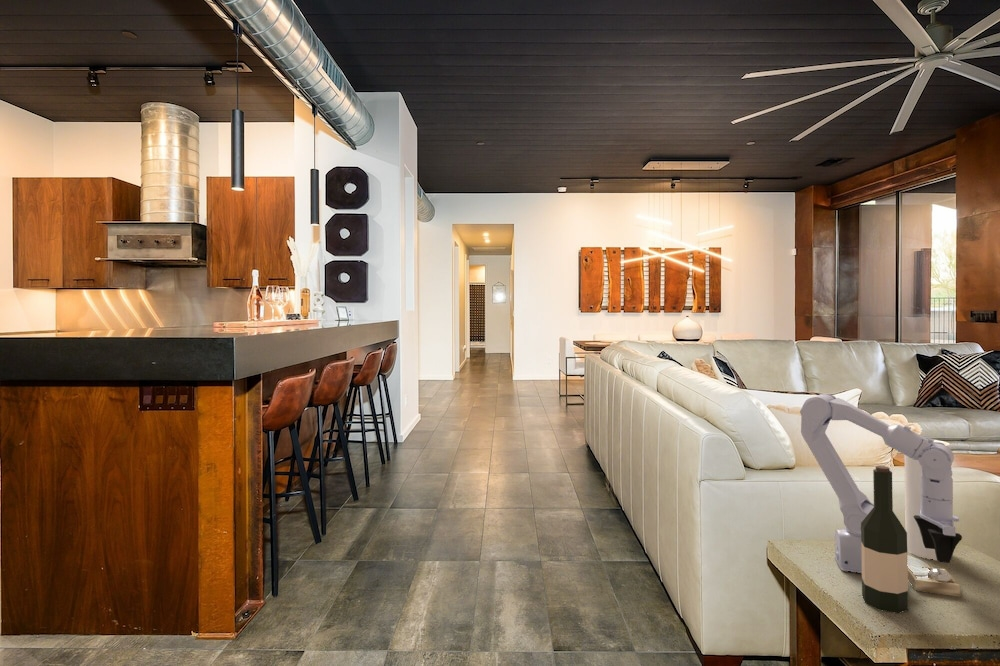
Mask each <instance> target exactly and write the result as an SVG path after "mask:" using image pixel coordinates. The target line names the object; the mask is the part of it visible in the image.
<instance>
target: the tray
mask: <svg viewBox="0 0 1000 666" xmlns="http://www.w3.org/2000/svg"><path fill="white" fill-rule="evenodd" d="M924 567H925V568H928V569H929V570H931V569H934V568H935V567H932V566H931V567H930V566H923V567H922V568H924ZM939 569H942V570H944V571H946V572H947V573H948V574H949V576H950V579H951V582H950V583H947V582H939V581H931V580H923V579H917V577H916V576H915V575H914V574H913V572H912V571H911V570H910V569H909V568H908V580H909V582H910V583H911V584H912V586H913V587H914V588H913V587H912V586H911V587H912V588H913V590H914V591H915V590H917V591H916V592H920V591H925V592H924V593H928V592H931V593H930V594H936V593H937V594H938V595H945V596H953V597H961V584H960V583H959V582H958V581H957V580H956V579H955V578H954V577H953V576H952V575H951V574H950V573H949V572H948V571H947V570H946V568H939ZM909 582H908V583H909ZM910 583H909V584H910ZM911 584H910V585H911Z"/></svg>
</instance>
